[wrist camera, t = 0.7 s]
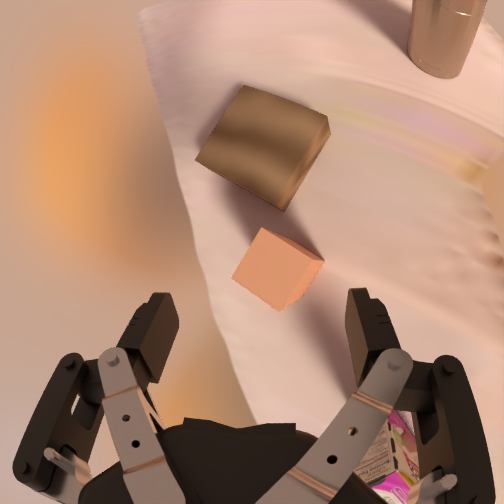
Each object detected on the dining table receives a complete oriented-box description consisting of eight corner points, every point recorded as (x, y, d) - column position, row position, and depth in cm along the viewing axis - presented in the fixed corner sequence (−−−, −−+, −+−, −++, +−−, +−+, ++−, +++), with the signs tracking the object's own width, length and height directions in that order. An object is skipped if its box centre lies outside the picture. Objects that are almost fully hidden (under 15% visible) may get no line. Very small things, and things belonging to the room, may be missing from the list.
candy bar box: (420, 440, 27) (440, 519, 12) (389, 458, 28) (394, 540, 13) (384, 390, 30) (398, 470, 14) (351, 411, 31) (344, 495, 16)
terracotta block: (290, 239, 35) (261, 227, 24) (325, 261, 33) (312, 259, 22) (269, 273, 36) (231, 277, 24) (302, 296, 34) (279, 311, 23)
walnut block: (256, 102, 37) (243, 84, 33) (330, 134, 34) (327, 116, 29) (212, 171, 39) (194, 160, 34) (284, 211, 35) (273, 203, 31)
